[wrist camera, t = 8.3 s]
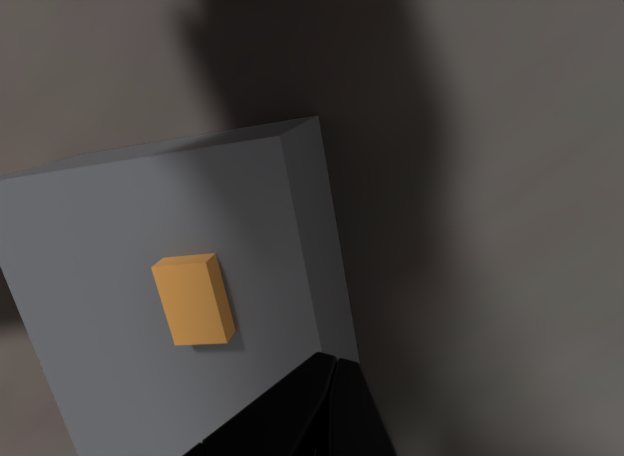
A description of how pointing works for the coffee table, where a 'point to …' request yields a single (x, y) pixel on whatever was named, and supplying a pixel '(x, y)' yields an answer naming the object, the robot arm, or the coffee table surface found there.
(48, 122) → the coffee table surface
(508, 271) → the coffee table surface
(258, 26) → the coffee table surface
